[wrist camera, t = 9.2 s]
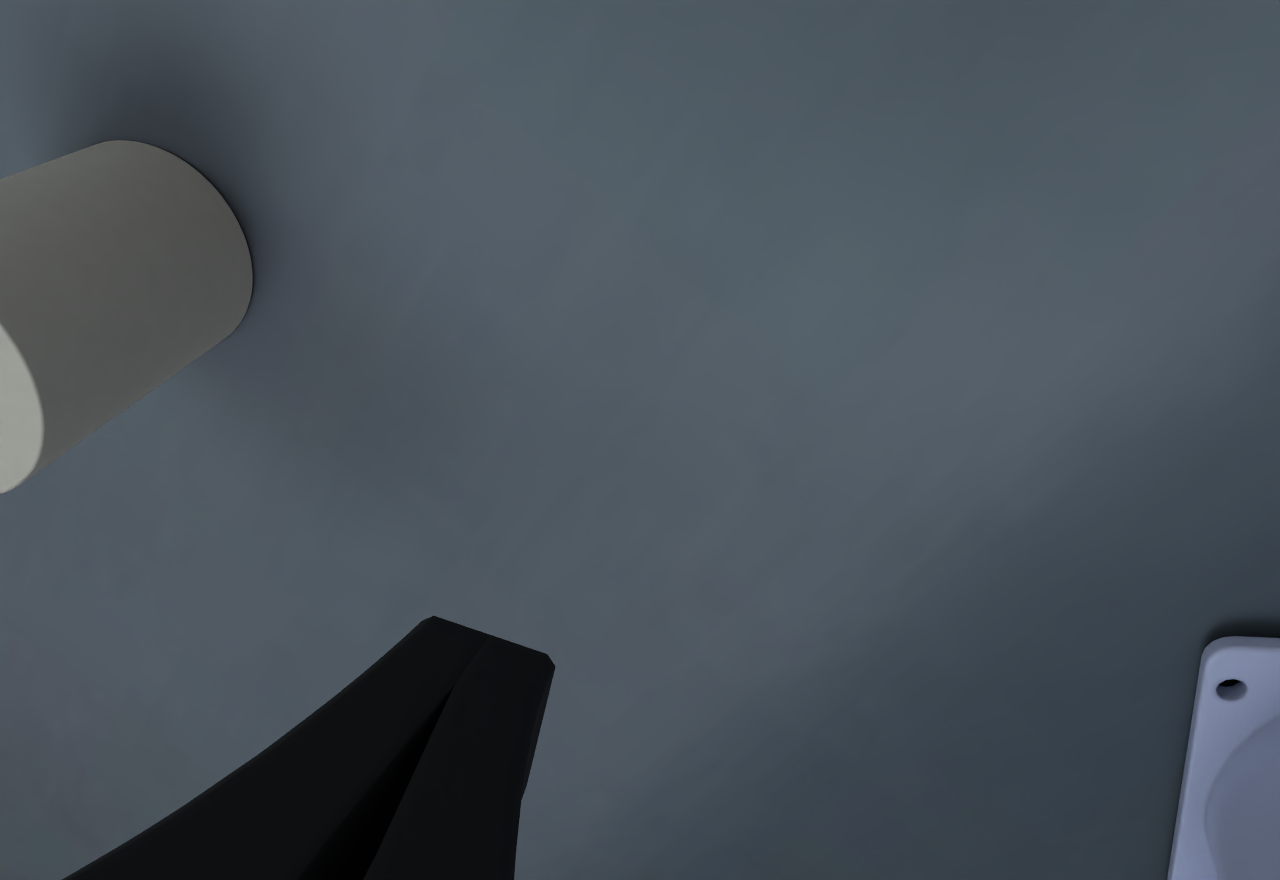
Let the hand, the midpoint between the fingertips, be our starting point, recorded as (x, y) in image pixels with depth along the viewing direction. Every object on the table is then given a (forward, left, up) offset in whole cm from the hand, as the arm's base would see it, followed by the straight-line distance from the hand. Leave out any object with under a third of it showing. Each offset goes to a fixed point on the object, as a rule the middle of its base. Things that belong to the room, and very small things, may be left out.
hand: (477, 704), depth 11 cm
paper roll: (+3, +9, -7) cm, 12 cm away
